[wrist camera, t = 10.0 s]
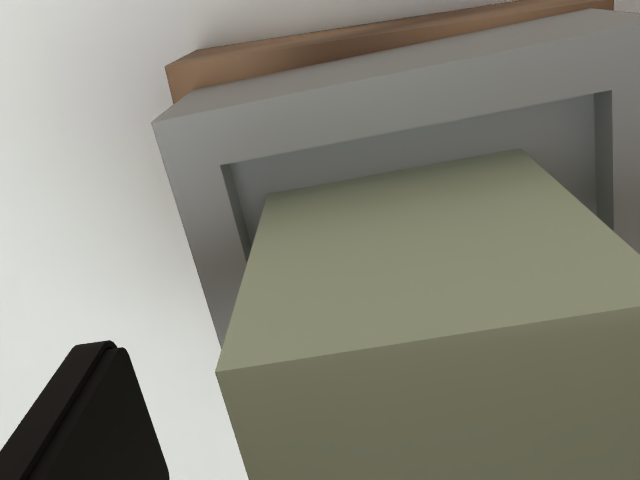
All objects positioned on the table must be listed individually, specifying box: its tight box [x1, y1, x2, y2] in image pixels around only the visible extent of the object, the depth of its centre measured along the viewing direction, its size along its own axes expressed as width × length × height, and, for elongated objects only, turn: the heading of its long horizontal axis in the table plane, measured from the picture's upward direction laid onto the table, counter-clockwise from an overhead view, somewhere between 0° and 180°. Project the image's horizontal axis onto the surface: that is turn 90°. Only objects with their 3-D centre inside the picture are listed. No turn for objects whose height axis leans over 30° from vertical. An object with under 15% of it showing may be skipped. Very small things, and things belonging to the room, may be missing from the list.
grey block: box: [151, 8, 640, 349], centre depth 14 cm, size 9×9×4 cm
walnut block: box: [165, 0, 614, 104], centre depth 17 cm, size 10×10×4 cm
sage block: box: [215, 148, 640, 480], centre depth 10 cm, size 5×5×6 cm
